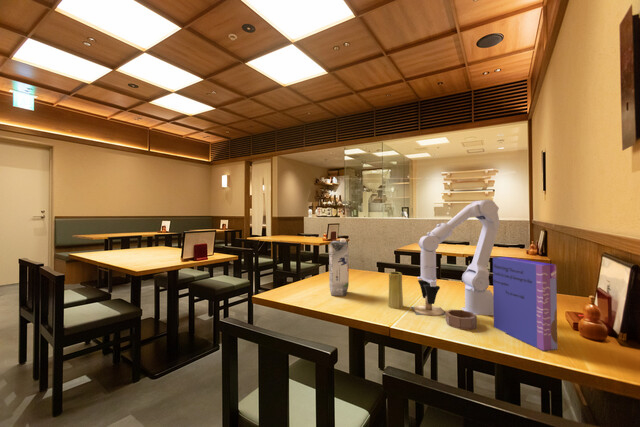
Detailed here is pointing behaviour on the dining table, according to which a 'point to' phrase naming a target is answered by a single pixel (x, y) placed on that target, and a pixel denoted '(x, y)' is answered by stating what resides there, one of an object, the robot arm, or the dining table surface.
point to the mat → (422, 314)
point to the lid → (428, 309)
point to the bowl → (461, 319)
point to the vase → (395, 290)
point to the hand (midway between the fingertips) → (428, 300)
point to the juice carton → (338, 267)
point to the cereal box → (526, 301)
